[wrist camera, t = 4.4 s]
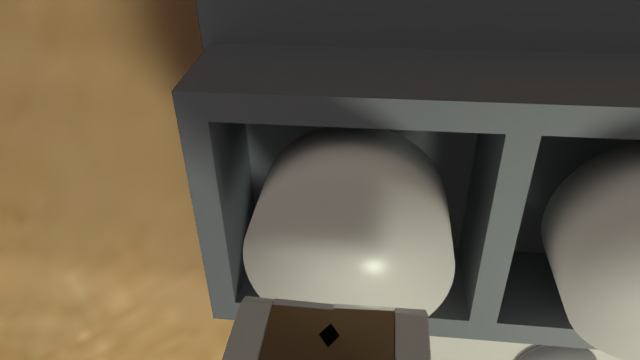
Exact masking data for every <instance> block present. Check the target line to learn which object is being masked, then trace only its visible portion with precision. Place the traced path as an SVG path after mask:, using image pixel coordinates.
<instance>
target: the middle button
mask: <svg viewBox="0 0 640 360" xmlns="http://www.w3.org/2000/svg"><path fill="white" fill-rule="evenodd" d="M541 237H542V242H543V246H544V249H545V252H546V255H547V258H548V261H549V264H550V267H551V270H552V273H553V276H554V279H555V282H556V285H557V288H558V291H559V294H560V297H561V300H562V303H563V306H564V309H565V312H566V315H567V317H568V320H569V322H570V324H571V326H572V327H573V329H574V330H575V331H576V333H577V334H578V335H579V336H580V337H581V338H582V339H583V340H585V341H586V342H587V343H588V344H589V345H591V346H593V347H594V348H596V349H598V350H600V351H602V352H604V353H606V354H609V355H611V356H614V357H617V358H620V359H624V360H640V141H635V142H630V143H627V144H624V145H621V146H618V147H615V148H613V149H610V150H608V151H606V152H603V153H601V154H600V155H598V156H596V157H594V158H592V159H590V160H589V161H587V162H586V163H584V164H583V165H581V166H580V167H578V168H577V169H576V170H575V171H574V172H572V173H571V174H570V175H569V176H568V177H567V178H566V179H565V180H564V181H563V182H562V183H561V184H560V185H559V186H558V188H557V189H556V191H555V192H554V193H553V195H552V196H551V198H550V200H549V202H548V204H547V206H546V208H545V211H544V214H543V218H542V224H541Z"/></svg>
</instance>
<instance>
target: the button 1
mask: <svg viewBox="0 0 640 360" xmlns="http://www.w3.org/2000/svg"><path fill="white" fill-rule="evenodd" d="M243 262H244V266H245V271H246V273H247V276H248V278H249V281H250V283H251V284H252V286H253V288H254V290H255V291H256V292H257V294H258V295H259V296H260V297H262V298H272V299H275V298H277V299H287V300H297V301H307V302H317V303H327V304H334V303H335V304H351V305H366V306H382V307H394V309H395V308H409V309H424V310H426V312H427V314H428V316H429V315H431V314H432V313H433V312H434V311H435V310H436V309H437V308H438V307H439V306H440V305H441V304H442V302H443V301H444V299H445V298H446V296H447V295H448V293H449V290H450V288H451V286H452V283H453V279H454V274H455V258H454V250H453V242H452V234H451V226H450V218H449V210H448V202H447V194H446V188H445V185H444V181H443V179H442V176H441V174H440V172H439V170H438V169H437V167H436V166H435V164H434V163H433V161H432V160H431V159H430V158H429V157H428V155H427V154H426V153H425V152H424V151H423V150H421V149H420V148H419V147H418V146H417V145H415V144H414V143H412V142H411V141H409V140H408V139H406V138H404V137H402V136H400V135H398V134H396V133H394V132H391V131H388V130H386V129H367V128H343V127H324V128H320V129H317V130H314V131H312V132H309V133H307V134H305V135H303V136H301V137H299V138H298V139H296V140H294V141H293V142H292V143H291V144H289V145H288V146H287V147H286V148H285V149H284V150H283V151H282V152H281V153H280V154H279V155H278V156H277V158H276V159H275V161H274V162H273V164H272V166H271V168H270V170H269V172H268V174H267V177H266V180H265V183H264V185H263V188H262V191H261V194H260V197H259V199H258V202H257V205H256V208H255V210H254V213H253V216H252V219H251V221H250V224H249V227H248V230H247V233H246V236H245V239H244V245H243Z"/></svg>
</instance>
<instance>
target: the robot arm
mask: <svg viewBox="0 0 640 360" xmlns="http://www.w3.org/2000/svg"><path fill="white" fill-rule="evenodd" d="M222 360H431V351H430V336H429V320H428V314H427V312H426V310H424V309H409V308H395V309H394V307H382V306H366V305H351V304H335V303H334V304H327V303H317V302H307V301H297V300H287V299H277V298H275V299H272V298H262V297H252V296H245V297H244V299H243V300H242V302H241V303H240V306H239V309H238V312H237V315H236V318H235V321H234V324H233V327H232V331H231V334H230V337H229V340H228V343H227V346H226V349H225V352H224V355H223V359H222Z"/></svg>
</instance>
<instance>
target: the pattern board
mask: <svg viewBox="0 0 640 360" xmlns="http://www.w3.org/2000/svg"><path fill="white" fill-rule="evenodd" d="M196 5H197V12H198V19H199V26H200V33H201V40H202V47H203V53H202V54H201V56H200V57H199V58H198V59H197V61H196V62H195V63H194V64H193V65H192V67H191V68H190V69H189V70H188V72H187V73H186V74H185V75H184V76H183V78H182V79H181V80H180V81H179V83H178V84H177V85H176V86H175V88H174V89H173V90H172V96H173V102H174V107H175V112H176V118H177V123H178V129H179V134H180V139H181V145H182V150H183V156H184V161H185V166H186V172H187V177H188V183H189V188H190V193H191V199H192V204H193V210H194V215H195V220H196V226H197V231H198V237H199V242H200V247H201V253H202V258H203V264H204V269H205V274H206V280H207V285H208V291H209V296H210V301H211V307H212V312H213V318H218V319H230V320H235V318H236V315H237V312H238V309H239V306H240V303H241V302H242V300H243V299H244V297H245V296H252V297H260V296H259V295H258V294H257V292H256V291H255V290H254V288H253V286H252V284H251V283H250V281H249V278H248V276H247V273H246V271H245V266H244V262H243V245H244V239H245V236H246V233H247V230H248V227H249V224H250V221H251V219H252V216H253V213H254V210H255V208H256V205H257V202H258V199H259V197H260V194H261V191H262V188H263V185H264V183H265V180H266V177H267V174H268V172H269V170H270V168H271V166H272V164H273V162H274V161H275V159H276V158H277V156H278V155H279V154H280V153H281V152H282V151H283V150H284V149H285V148H286V147H287V146H288V145H289V144H291V143H292V142H293V141H294V140H296V139H298V138H299V137H301V136H303V135H305V134H307V133H309V132H312V131H314V130H317V129H320V128H324V127H343V128H367V129H386V130H388V131H391V132H394V133H396V134H398V135H400V136H402V137H404V138H406V139H408V140H409V141H411V142H412V143H414V144H415V145H417V146H418V147H419V148H420V149H421V150H423V151H424V152H425V153H426V154H427V155H428V157H429V158H430V159H431V160H432V161H433V163H434V164H435V166H436V167H437V169H438V170H439V172H440V174H441V176H442V179H443V181H444V185H445V188H446V194H447V202H448V210H449V218H450V226H451V234H452V242H453V250H454V258H455V274H454V279H453V283H452V286H451V288H450V290H449V293H448V295H447V296H446V298H445V299H444V301H443V302H442V304H441V305H440V306H439V307H438V308H437V309H436V310H435V311H434V312H433V313H432V314H431V315H429V316H428V320H429V336H430V351H431V360H624V359H620V358H617V357H614V356H611V355H609V354H606V353H604V352H602V351H600V350H598V349H596V348H594V347H593V346H591V345H589V344H588V343H587V342H586V341H585V340H583V339H582V338H581V337H580V336H579V335H578V334H577V333H576V331H575V330H574V329H573V327H572V326H571V324H570V322H569V320H568V317H567V315H566V312H565V309H564V306H563V303H562V300H561V297H560V294H559V291H558V288H557V285H556V282H555V279H554V276H553V273H552V270H551V267H550V264H549V261H548V258H547V255H546V252H545V249H544V246H543V242H542V237H541V224H542V218H543V214H544V211H545V208H546V206H547V204H548V202H549V200H550V198H551V196H552V195H553V193H554V192H555V191H556V189H557V188H558V186H559V185H560V184H561V183H562V182H563V181H564V180H565V179H566V178H567V177H568V176H569V175H570V174H571V173H572V172H574V171H575V170H576V169H577V168H578V167H580V166H581V165H583V164H584V163H586V162H587V161H589V160H590V159H592V158H594V157H596V156H598V155H600V154H601V153H603V152H606V151H608V150H610V149H613V148H615V147H618V146H621V145H624V144H627V143H630V142H635V141H640V0H196Z"/></svg>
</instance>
